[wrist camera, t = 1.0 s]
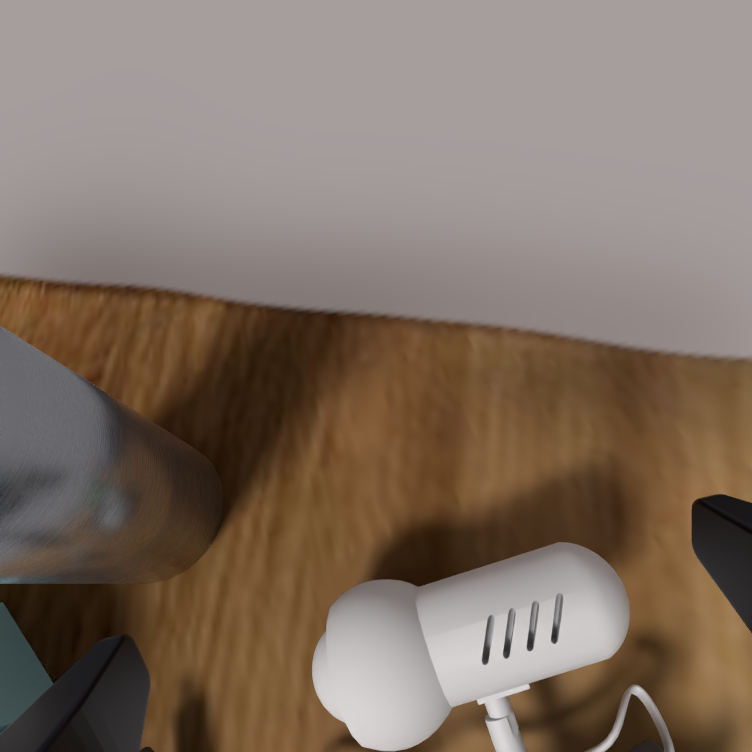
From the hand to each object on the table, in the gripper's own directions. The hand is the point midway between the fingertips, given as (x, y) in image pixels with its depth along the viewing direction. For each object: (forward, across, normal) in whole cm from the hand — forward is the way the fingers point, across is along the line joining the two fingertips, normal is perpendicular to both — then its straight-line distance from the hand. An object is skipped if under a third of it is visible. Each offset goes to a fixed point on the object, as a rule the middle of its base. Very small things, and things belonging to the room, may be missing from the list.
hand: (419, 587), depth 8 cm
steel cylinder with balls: (+14, +10, +5) cm, 18 cm away
